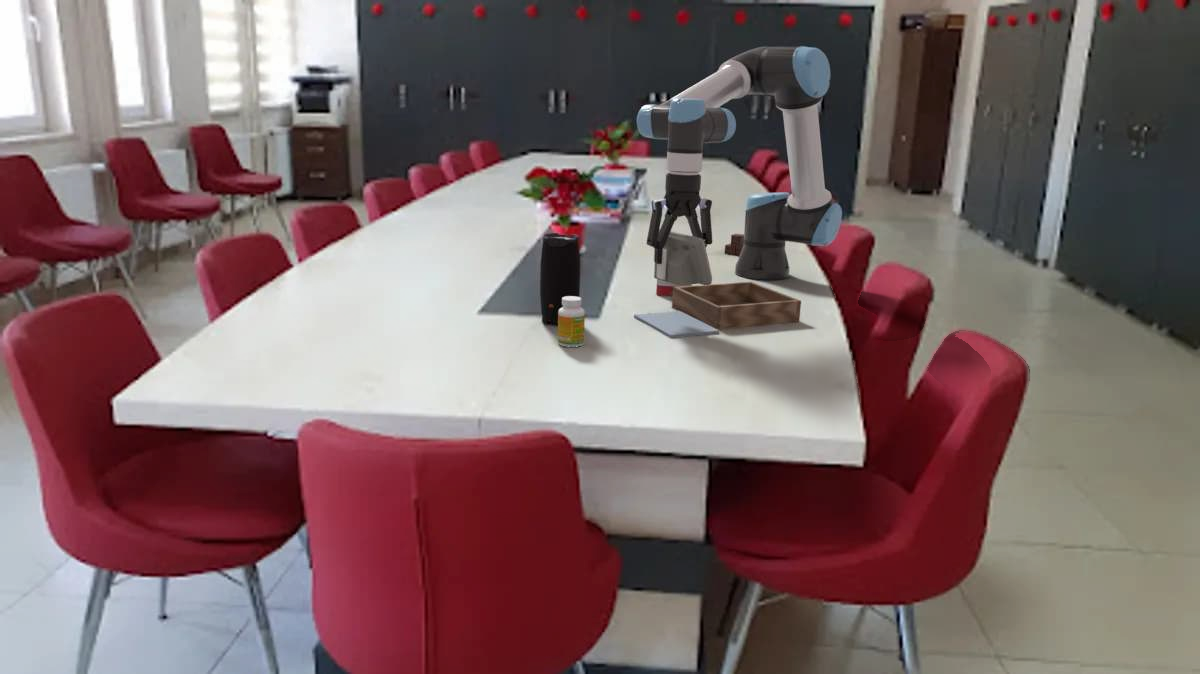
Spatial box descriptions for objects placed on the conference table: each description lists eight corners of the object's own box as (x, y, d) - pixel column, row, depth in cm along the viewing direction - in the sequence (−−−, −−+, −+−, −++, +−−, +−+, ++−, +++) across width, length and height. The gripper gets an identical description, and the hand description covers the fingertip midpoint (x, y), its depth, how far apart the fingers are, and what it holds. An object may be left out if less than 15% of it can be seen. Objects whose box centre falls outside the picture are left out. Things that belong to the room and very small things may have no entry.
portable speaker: (558, 329, 202) (560, 240, 197) (531, 320, 208) (531, 234, 203) (587, 323, 208) (589, 236, 202) (560, 315, 214) (561, 230, 209)
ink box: (688, 297, 235) (691, 251, 232) (655, 295, 237) (657, 249, 233) (692, 290, 243) (695, 245, 240) (660, 287, 245) (662, 243, 242)
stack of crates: (769, 255, 298) (771, 234, 296) (750, 262, 286) (752, 240, 284) (726, 249, 306) (728, 228, 304) (706, 256, 294) (707, 234, 292)
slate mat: (680, 313, 219) (680, 311, 219) (719, 333, 203) (719, 330, 203) (633, 317, 214) (634, 314, 214) (670, 337, 198) (670, 335, 198)
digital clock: (715, 287, 200) (718, 238, 198) (678, 289, 197) (681, 239, 194) (679, 272, 215) (682, 226, 212) (644, 274, 211) (646, 227, 208)
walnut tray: (750, 301, 233) (751, 281, 232) (799, 321, 215) (801, 300, 213) (672, 307, 225) (673, 287, 223) (716, 329, 206) (717, 307, 205)
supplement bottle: (574, 349, 188) (575, 302, 185) (552, 344, 191) (553, 298, 188) (588, 343, 192) (590, 297, 190) (567, 339, 195) (568, 293, 192)
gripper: (716, 170, 207) (709, 271, 213) (632, 171, 199) (628, 276, 205) (734, 174, 200) (726, 278, 206) (648, 175, 192) (643, 283, 198)
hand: (677, 277), depth 206 cm, fingers closed on digital clock, 8 cm apart
